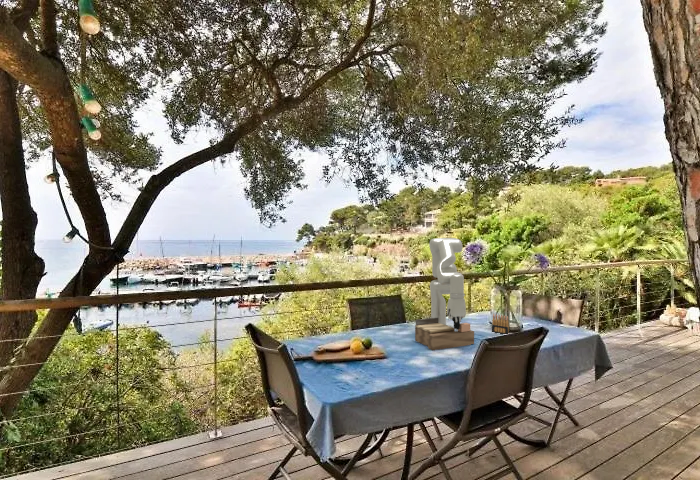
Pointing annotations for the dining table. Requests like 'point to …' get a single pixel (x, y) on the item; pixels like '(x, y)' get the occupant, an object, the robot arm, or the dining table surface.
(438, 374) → the dining table surface
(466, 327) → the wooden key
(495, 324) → the ammunition clip
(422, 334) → the toolbox
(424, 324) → the toolbox lid
